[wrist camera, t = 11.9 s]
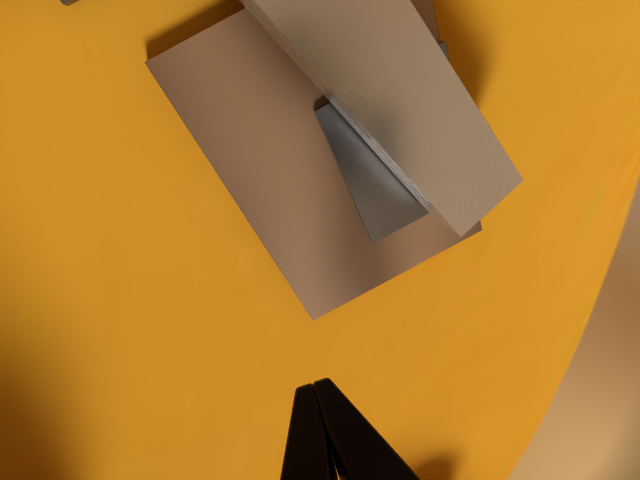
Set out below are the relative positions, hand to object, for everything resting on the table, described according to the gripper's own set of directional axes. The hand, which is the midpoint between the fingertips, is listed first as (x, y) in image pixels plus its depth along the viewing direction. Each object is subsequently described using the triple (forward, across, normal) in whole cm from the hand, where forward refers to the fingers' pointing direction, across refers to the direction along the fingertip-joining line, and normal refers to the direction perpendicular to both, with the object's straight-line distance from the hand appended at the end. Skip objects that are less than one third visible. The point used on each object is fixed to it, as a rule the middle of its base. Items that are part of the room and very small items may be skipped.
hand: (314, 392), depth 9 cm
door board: (+7, -4, -3) cm, 9 cm away
